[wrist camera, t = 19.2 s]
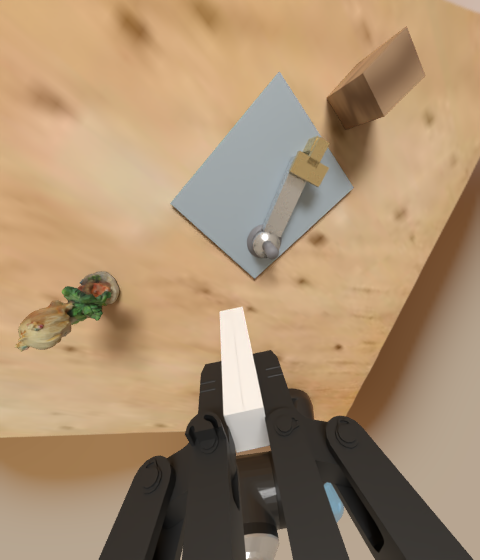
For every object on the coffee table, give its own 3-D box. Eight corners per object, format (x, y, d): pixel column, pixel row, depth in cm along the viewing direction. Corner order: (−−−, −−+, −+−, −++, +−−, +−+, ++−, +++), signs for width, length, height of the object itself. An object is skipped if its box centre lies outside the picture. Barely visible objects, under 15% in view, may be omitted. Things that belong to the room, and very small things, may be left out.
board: (350, 187, 35) (380, 190, 28) (253, 276, 40) (261, 295, 34) (277, 74, 27) (296, 44, 21) (171, 202, 33) (161, 209, 26)
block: (374, 99, 30) (425, 75, 22) (345, 129, 31) (384, 116, 24) (357, 64, 28) (406, 26, 21) (326, 97, 29) (363, 73, 22)
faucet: (270, 257, 37) (273, 261, 36) (247, 249, 36) (249, 253, 35) (312, 167, 32) (318, 166, 30) (287, 154, 30) (291, 153, 29)
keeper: (324, 150, 32) (340, 147, 28) (306, 185, 34) (318, 186, 30) (298, 134, 30) (310, 128, 26) (280, 171, 32) (290, 171, 28)
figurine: (96, 308, 40) (36, 377, 26) (66, 275, 36) (-20, 335, 23) (139, 290, 39) (100, 351, 26) (113, 255, 35) (52, 304, 22)
